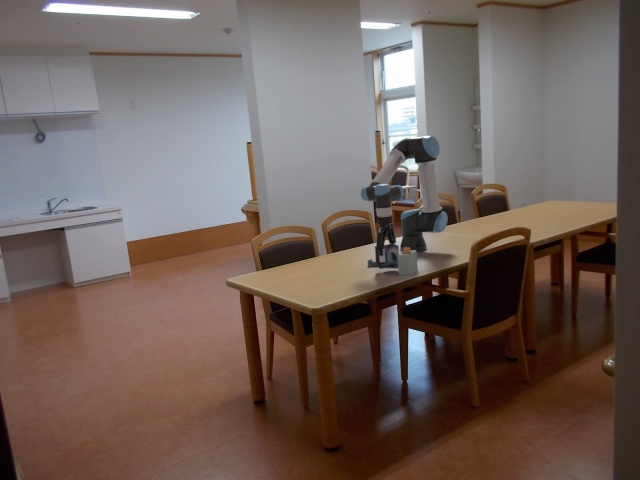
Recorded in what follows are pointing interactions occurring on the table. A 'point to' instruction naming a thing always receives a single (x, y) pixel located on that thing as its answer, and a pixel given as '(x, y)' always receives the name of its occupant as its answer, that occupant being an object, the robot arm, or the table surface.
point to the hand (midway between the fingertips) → (387, 259)
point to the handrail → (373, 263)
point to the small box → (388, 256)
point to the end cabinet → (407, 263)
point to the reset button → (406, 250)
